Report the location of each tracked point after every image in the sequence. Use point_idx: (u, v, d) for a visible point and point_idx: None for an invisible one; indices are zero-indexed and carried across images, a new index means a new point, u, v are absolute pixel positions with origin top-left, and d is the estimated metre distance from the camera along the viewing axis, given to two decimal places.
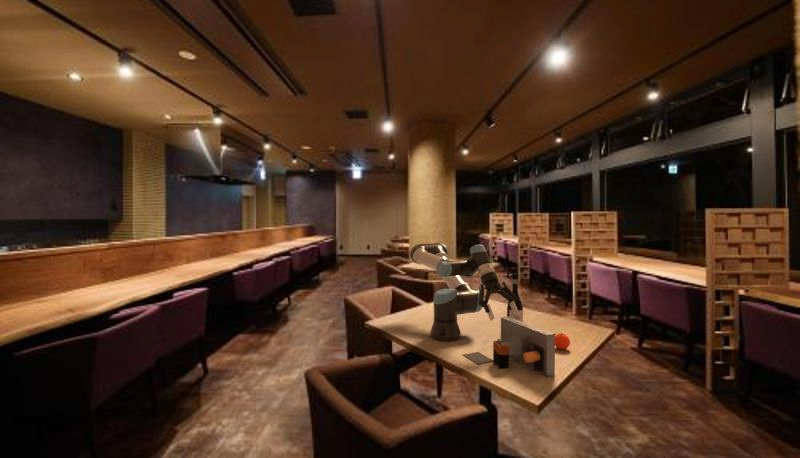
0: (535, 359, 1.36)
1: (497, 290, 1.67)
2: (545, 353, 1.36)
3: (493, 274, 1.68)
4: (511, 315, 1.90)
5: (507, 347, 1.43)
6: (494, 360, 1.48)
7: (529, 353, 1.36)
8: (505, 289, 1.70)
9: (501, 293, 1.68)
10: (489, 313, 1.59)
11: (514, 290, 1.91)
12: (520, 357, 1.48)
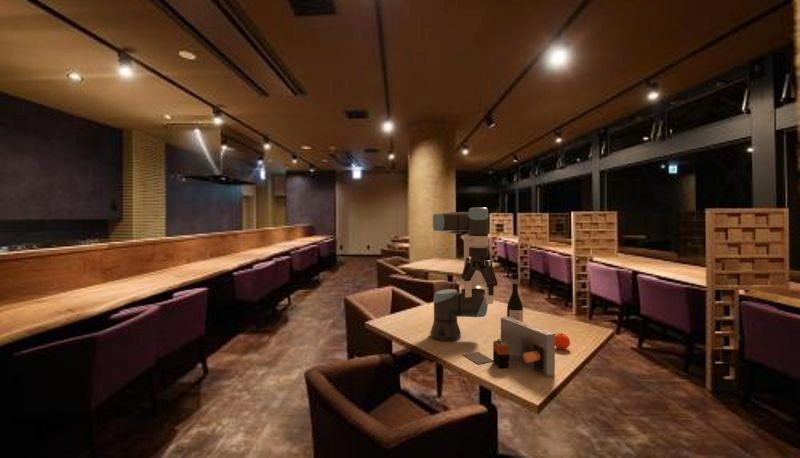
0: (535, 359, 1.36)
1: (477, 269, 1.42)
2: (545, 353, 1.36)
3: (470, 251, 1.42)
4: (511, 315, 1.90)
5: (507, 347, 1.43)
6: (494, 360, 1.48)
7: (529, 353, 1.36)
8: None
9: None
10: None
11: (514, 290, 1.91)
12: (520, 357, 1.48)
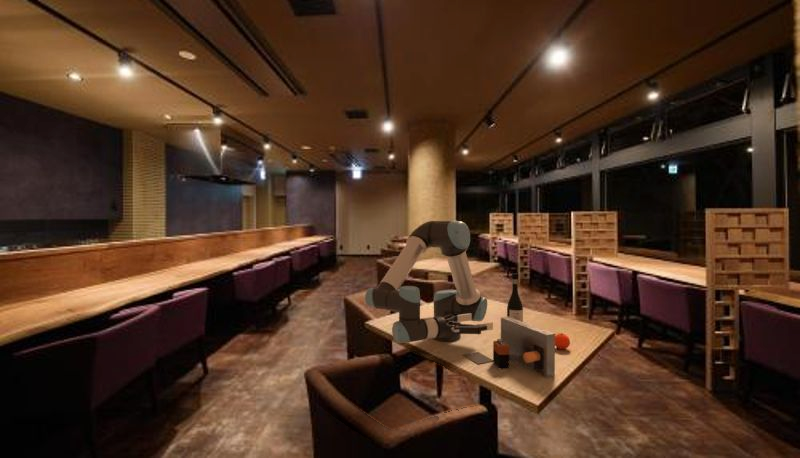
0: (535, 359, 1.36)
1: None
2: (545, 353, 1.36)
3: None
4: (511, 315, 1.90)
5: (507, 347, 1.43)
6: (494, 360, 1.48)
7: (529, 353, 1.36)
8: None
9: None
10: None
11: (514, 290, 1.91)
12: (520, 357, 1.48)
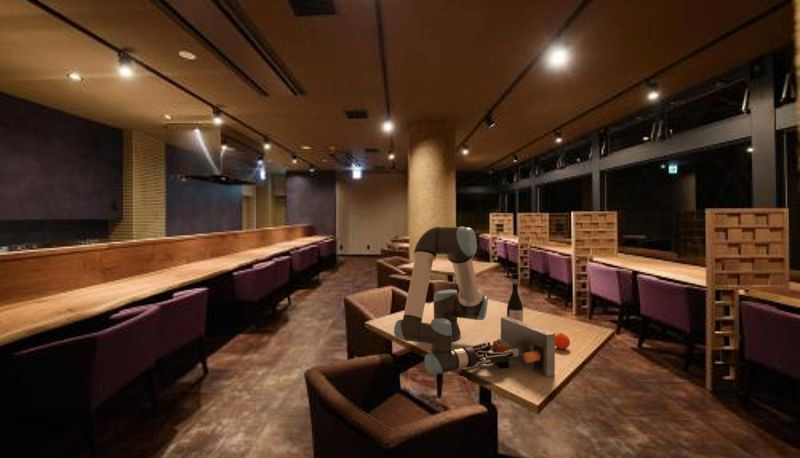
0: (535, 359, 1.36)
1: None
2: (545, 353, 1.36)
3: None
4: (511, 315, 1.90)
5: (507, 347, 1.43)
6: None
7: (529, 353, 1.36)
8: None
9: None
10: None
11: (514, 290, 1.91)
12: (520, 357, 1.48)
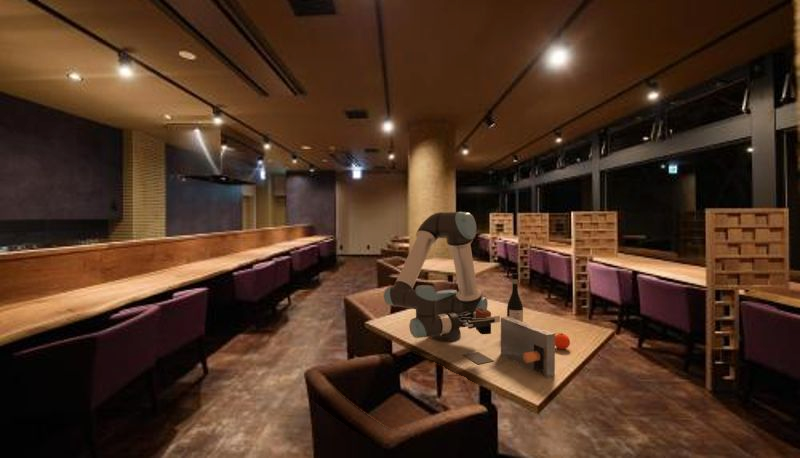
0: (535, 359, 1.36)
1: None
2: (545, 353, 1.36)
3: None
4: (511, 315, 1.90)
5: (489, 313, 1.49)
6: (477, 327, 1.54)
7: (529, 353, 1.36)
8: None
9: None
10: None
11: (514, 290, 1.91)
12: (520, 357, 1.48)
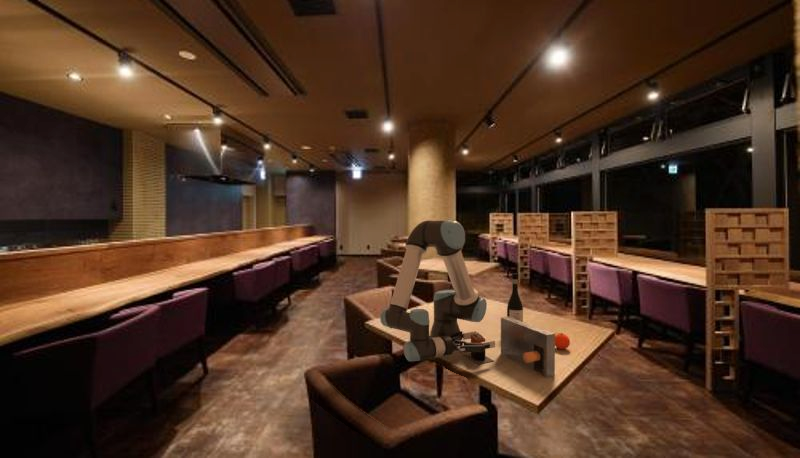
0: (535, 359, 1.36)
1: None
2: (545, 353, 1.36)
3: None
4: (511, 315, 1.90)
5: (483, 340, 1.51)
6: (471, 352, 1.55)
7: (529, 353, 1.36)
8: None
9: None
10: None
11: (514, 290, 1.91)
12: (520, 357, 1.48)
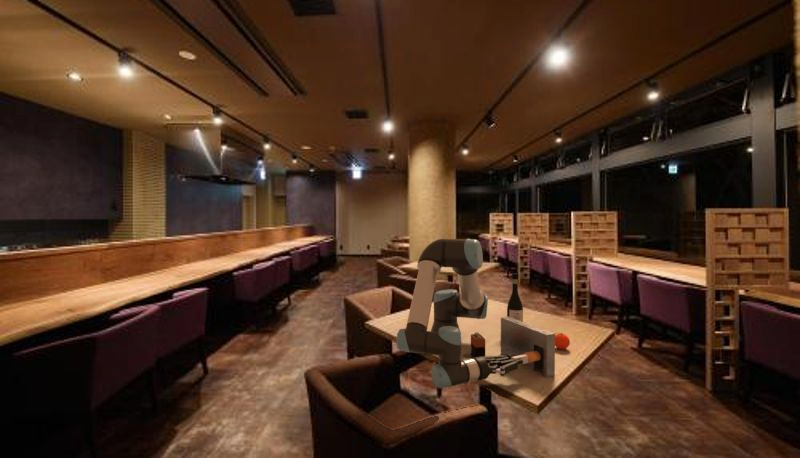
0: (535, 359, 1.36)
1: None
2: (545, 353, 1.36)
3: None
4: (511, 315, 1.90)
5: (483, 340, 1.51)
6: (471, 352, 1.55)
7: (529, 353, 1.36)
8: None
9: None
10: None
11: (514, 290, 1.91)
12: None
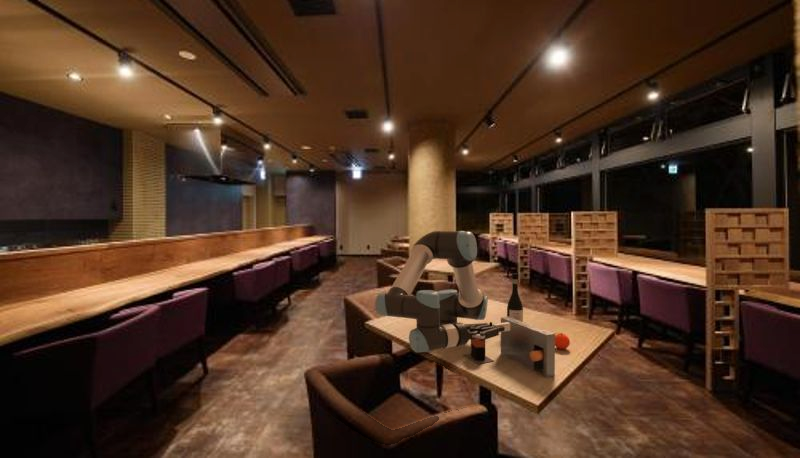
0: (542, 358, 1.37)
1: None
2: (545, 353, 1.36)
3: None
4: (511, 315, 1.90)
5: None
6: (471, 352, 1.55)
7: (536, 352, 1.37)
8: None
9: None
10: None
11: (514, 290, 1.91)
12: (520, 357, 1.48)
